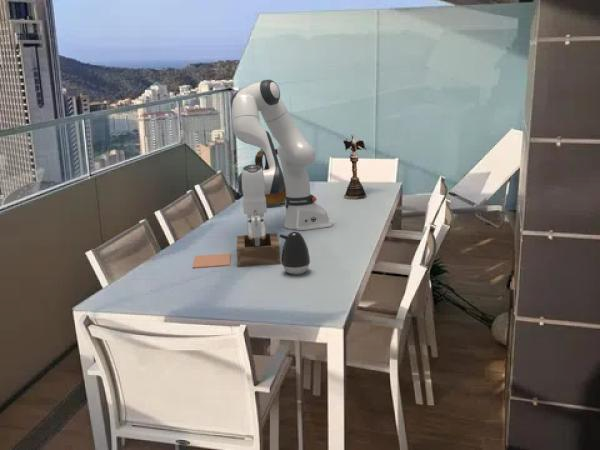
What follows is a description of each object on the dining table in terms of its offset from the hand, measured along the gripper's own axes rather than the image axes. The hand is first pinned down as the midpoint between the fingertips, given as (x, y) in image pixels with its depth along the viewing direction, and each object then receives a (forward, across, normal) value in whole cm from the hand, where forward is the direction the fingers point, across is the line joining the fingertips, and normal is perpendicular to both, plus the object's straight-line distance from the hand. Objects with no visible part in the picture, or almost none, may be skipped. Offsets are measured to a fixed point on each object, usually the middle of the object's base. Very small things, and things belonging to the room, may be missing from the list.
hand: (257, 242), depth 240 cm
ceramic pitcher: (+6, +91, -9) cm, 92 cm away
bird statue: (+6, +97, -55) cm, 112 cm away
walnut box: (+6, 0, 0) cm, 6 cm away
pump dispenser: (+6, -20, -13) cm, 25 cm away
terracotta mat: (+6, 0, +18) cm, 19 cm away
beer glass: (+6, 0, 0) cm, 6 cm away
